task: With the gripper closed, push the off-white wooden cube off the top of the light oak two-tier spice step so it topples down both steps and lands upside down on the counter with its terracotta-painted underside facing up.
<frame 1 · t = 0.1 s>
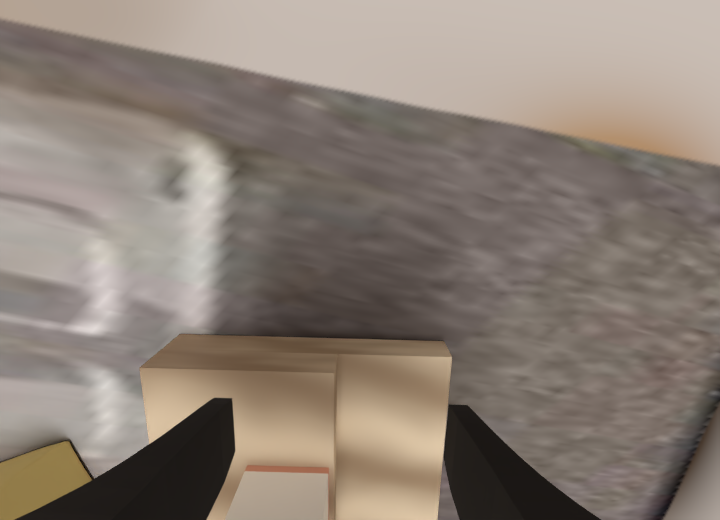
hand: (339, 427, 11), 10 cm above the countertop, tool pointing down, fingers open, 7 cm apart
cheese: (49, 506, 25), on the countertop
spice step: (308, 446, 23), on the countertop
white cube: (288, 499, 19), point 4 cm above the countertop, touching spice step
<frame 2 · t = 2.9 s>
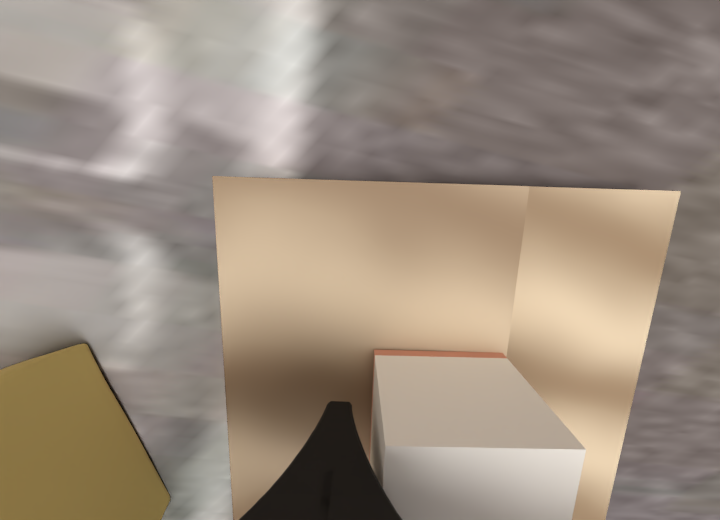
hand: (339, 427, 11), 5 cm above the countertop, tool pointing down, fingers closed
cheese: (57, 443, 18), on the countertop
spice step: (425, 354, 17), on the countertop
white cube: (433, 407, 13), point 4 cm above the countertop, touching gripper, spice step
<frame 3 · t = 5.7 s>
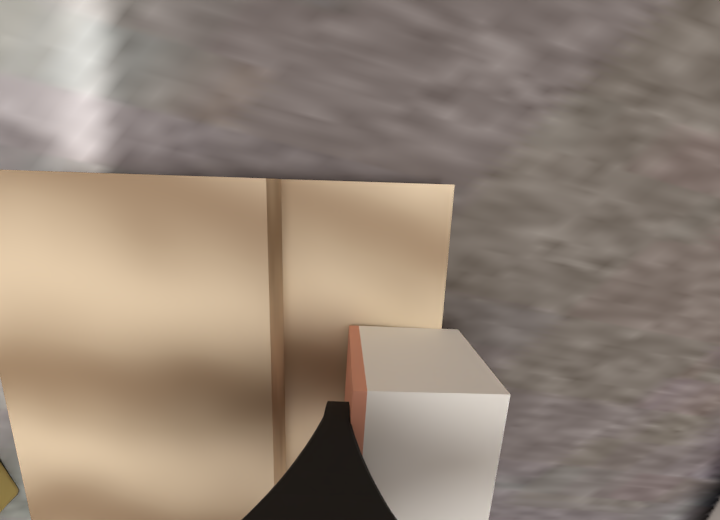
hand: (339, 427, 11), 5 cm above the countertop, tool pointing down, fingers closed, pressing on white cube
spice step: (252, 348, 17), on the countertop
white cube: (346, 410, 12), point 4 cm above the countertop, tilted 94°, touching gripper, spice step
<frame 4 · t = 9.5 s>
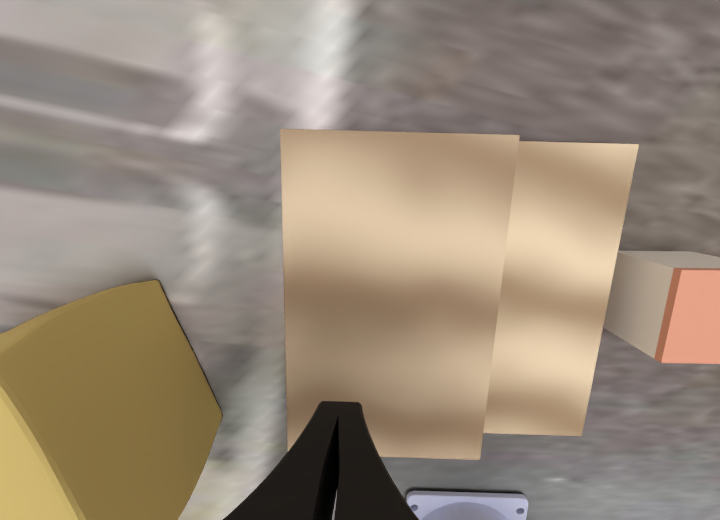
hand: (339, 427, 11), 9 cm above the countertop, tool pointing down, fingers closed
cheese: (128, 368, 22), on the countertop
spice step: (437, 288, 20), on the countertop
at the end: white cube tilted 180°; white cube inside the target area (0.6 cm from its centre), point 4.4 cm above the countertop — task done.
